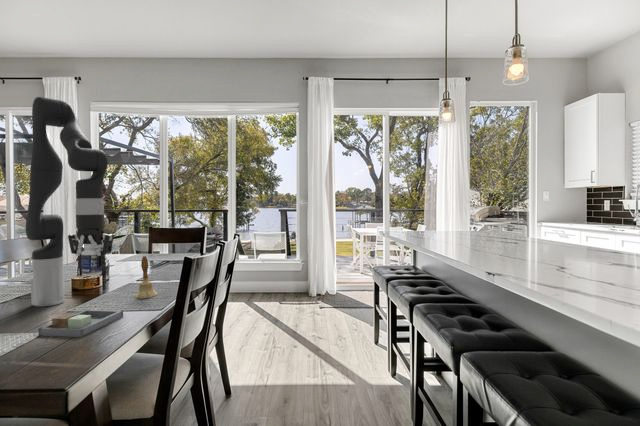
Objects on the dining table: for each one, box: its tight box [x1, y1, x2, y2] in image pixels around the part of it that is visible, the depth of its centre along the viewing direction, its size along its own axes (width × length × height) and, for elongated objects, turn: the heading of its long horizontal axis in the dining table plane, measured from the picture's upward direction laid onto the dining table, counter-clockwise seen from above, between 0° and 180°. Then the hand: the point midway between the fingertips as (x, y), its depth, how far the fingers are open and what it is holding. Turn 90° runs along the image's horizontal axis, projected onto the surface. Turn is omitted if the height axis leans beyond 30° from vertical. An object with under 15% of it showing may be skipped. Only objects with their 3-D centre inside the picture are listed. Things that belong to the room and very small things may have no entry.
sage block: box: [68, 315, 91, 329], centre depth 108 cm, size 4×4×4 cm
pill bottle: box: [81, 244, 103, 277], centre depth 116 cm, size 5×5×10 cm
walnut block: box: [51, 313, 76, 328], centre depth 108 cm, size 4×4×4 cm
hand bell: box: [134, 255, 158, 299], centre depth 149 cm, size 8×8×16 cm
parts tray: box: [37, 309, 124, 338], centre depth 112 cm, size 13×18×2 cm
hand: (91, 267), depth 116 cm, fingers closed on pill bottle, 5 cm apart
